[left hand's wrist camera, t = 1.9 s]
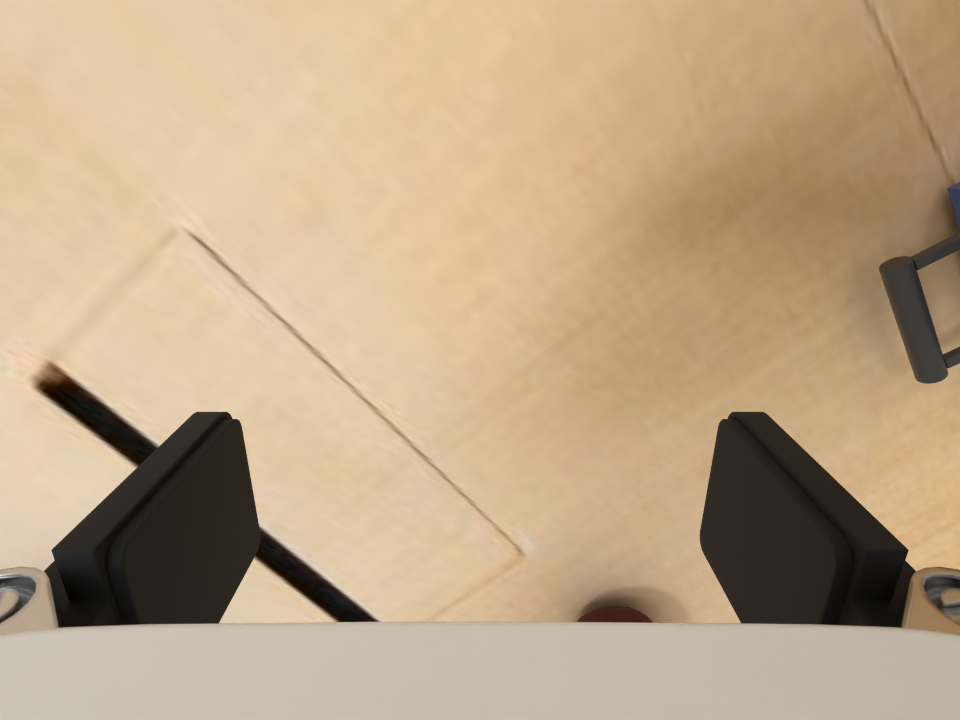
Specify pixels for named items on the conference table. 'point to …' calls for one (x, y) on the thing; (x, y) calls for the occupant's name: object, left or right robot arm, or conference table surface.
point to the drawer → (920, 305)
